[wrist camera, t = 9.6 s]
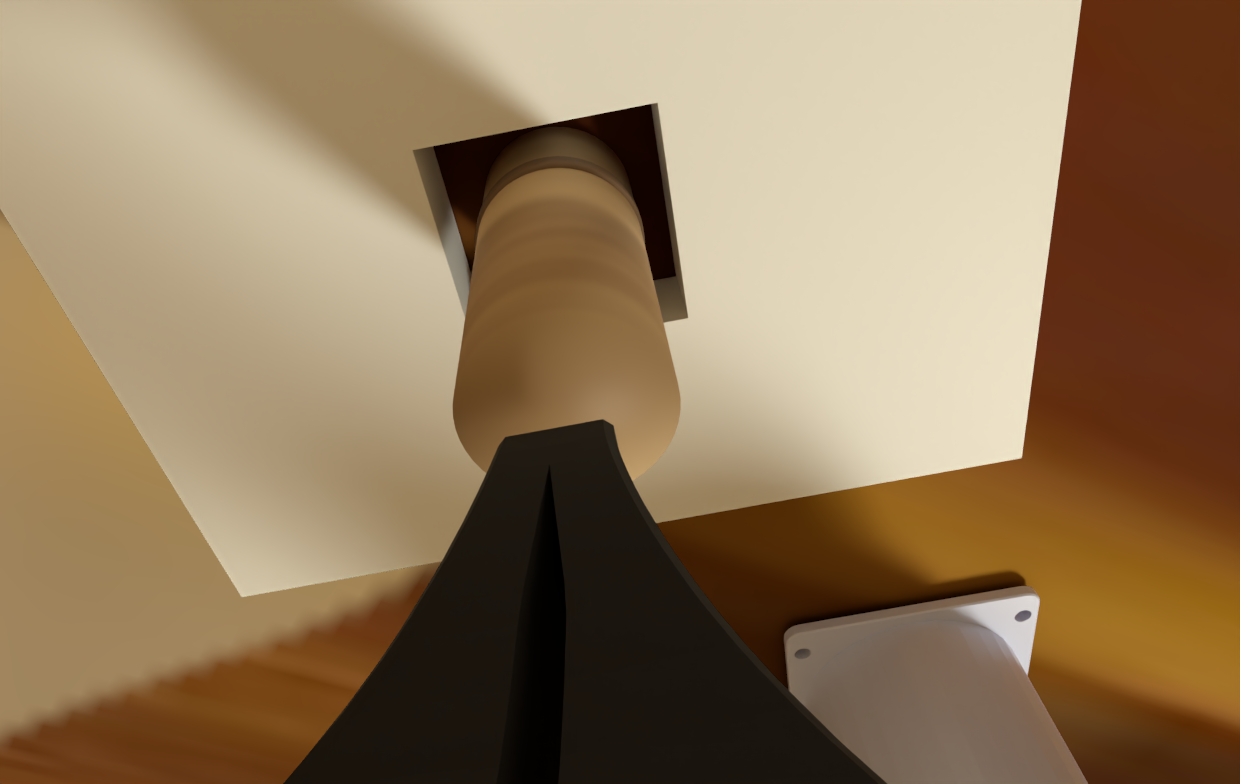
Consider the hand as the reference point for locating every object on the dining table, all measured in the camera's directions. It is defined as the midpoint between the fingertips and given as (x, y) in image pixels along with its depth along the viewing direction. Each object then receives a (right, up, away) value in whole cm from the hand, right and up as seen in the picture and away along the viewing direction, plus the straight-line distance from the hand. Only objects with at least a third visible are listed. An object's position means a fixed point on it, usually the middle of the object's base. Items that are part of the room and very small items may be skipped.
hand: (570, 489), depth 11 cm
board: (-1, +5, +8) cm, 10 cm away
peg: (-1, +5, +8) cm, 10 cm away
